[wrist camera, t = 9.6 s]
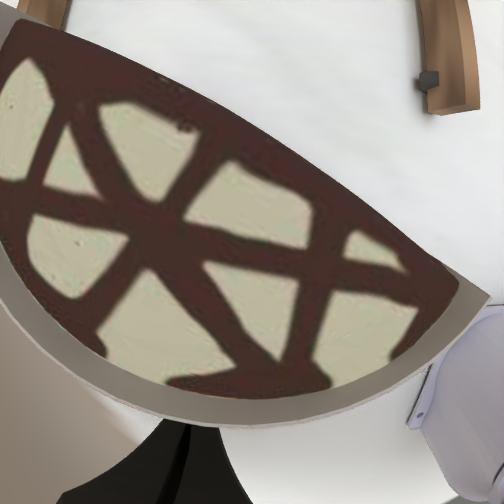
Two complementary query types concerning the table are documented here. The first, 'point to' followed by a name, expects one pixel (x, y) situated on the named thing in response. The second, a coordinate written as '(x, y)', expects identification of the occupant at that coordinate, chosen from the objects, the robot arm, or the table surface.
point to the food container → (197, 249)
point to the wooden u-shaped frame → (436, 48)
